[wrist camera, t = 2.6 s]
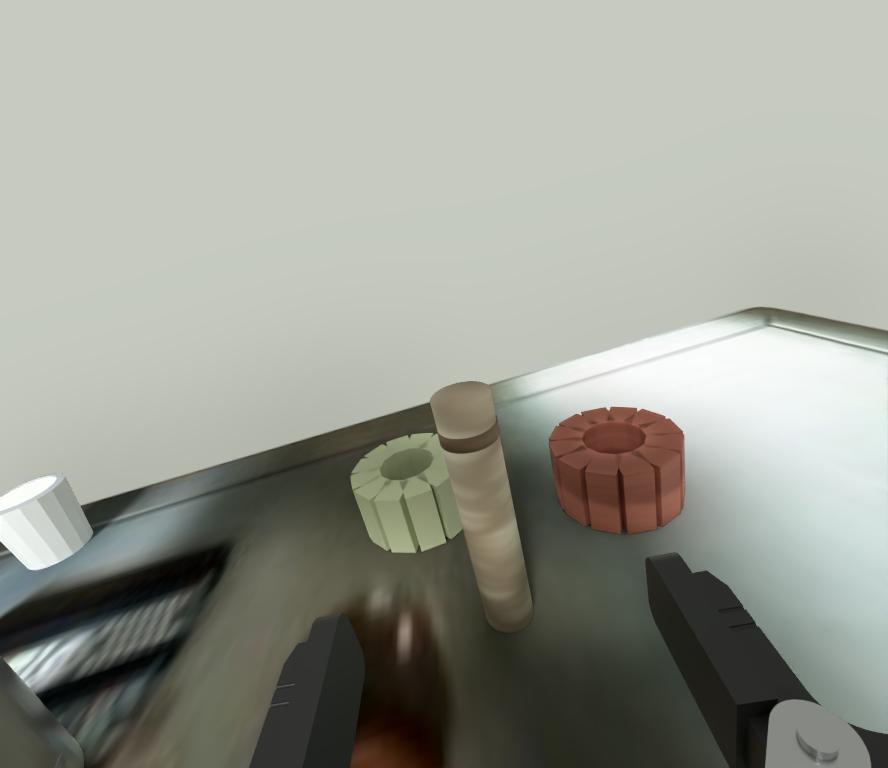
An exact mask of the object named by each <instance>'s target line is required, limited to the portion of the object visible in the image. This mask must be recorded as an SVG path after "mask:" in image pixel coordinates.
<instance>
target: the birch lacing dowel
mask: <svg viewBox="0 0 888 768" xmlns="http://www.w3.org/2000/svg"><path fill="white" fill-rule="evenodd" d="M430 403H431V407H432V411H433V415H434V419H435V423H436V426H437V428H436V430H437V434H438V438H439V442H440V445H441V447H442V450H443V454H444V457H445V461H446V465H447V469H448V473H449V477H450V481H451V484H452V488H453V492H454V496H455V500H456V504H457V508H458V512H459V515H460V519H461V523H462V527H463V531H464V535H465V539H466V542H467V546H468V550H469V554H470V558H471V562H472V566H473V570H474V573H475V577H476V581H477V585H478V589H479V593H480V597H481V600H482V604H483V608H484V612H485V616H486V619H487V621H488V623H489V624H490V626H491V627H493V628H494V629H496V630H497V631H500V632H504V633H513V632H517V631H520V630H522V629H523V628H525V627H526V626H527V625H528V624H529V623H530V621H531V620H532V618H533V614H534V608H533V603H532V597H531V592H530V587H529V582H528V577H527V572H526V567H525V562H524V557H523V552H522V547H521V542H520V537H519V532H518V527H517V522H516V516H515V511H514V506H513V501H512V496H511V491H510V486H509V481H508V476H507V471H506V466H505V461H504V456H503V451H502V446H501V441H500V436H499V435H500V430H499V425H498V420H497V416H496V414H495V410H494V405H493V400H492V395H491V390H490V387H489V386H488V385H487V384H485V383H482V382H476V381H475V382H474V381H468V382H460V383H456V384H452V385H449V386H447V387H444V388H443V389H440V390H439V391H438V392H436V393H435V394H434V395H433V396H432V397H431V399H430Z"/></svg>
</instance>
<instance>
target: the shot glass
mask: <svg viewBox="0 0 888 768" xmlns="http://www.w3.org/2000/svg"><path fill="white" fill-rule="evenodd" d="M92 535H93V531H92V529H91V527H90V525H89V523H88V521H87V519H86V517H85V515H84V513H83V511H82V509H81V507H80V505H79V503H78V501H77V499H76V497H75V495H74V493H73V491H72V489H71V487H70V485H69V483H68V481H67V479H66V477H65V475H63V473H54V474H50V475H45V476H41V477H39V478H36V479H33V480H30V481H28V482H25V483H23V484H21V485H19V486H17V487H14V488H12V489H10V490H8V491H7V492H5V493H3V494H1V495H0V541H1V542H2V543H3V544H4V545H5V546H6V547H7V548H8V549H9V550H10V551H11V552H12V553H13V554H14V555H15V556H16V557H17V558H18V559H19V560H20V561H21V562H22V563H23V564H24V565H25V566H26V567H27V568H28V569H30V570H38V569H42V568H47V567H49V566H51V565H54V564H56V563H58V562H61V561H62V560H64V559H66V558H67V557H69V556H71V555H73V554H74V553H75V552H77V551H78V550H79V549H81V548H82V547H83V546H85V544H86V543H87V542H88V541H89V540H90V539H91V538H92Z"/></svg>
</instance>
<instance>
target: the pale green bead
mask: <svg viewBox="0 0 888 768" xmlns="http://www.w3.org/2000/svg"><path fill="white" fill-rule="evenodd" d="M386 443H387V446H385V445H380V446H379V447H377V448H376V449H374V450H373V451H371V452H369V453H368V454H366V455H365V459H361V460H360V461H359V463H358V464H357V465H356V467H355V468H354V470H353V471H352V476H350V477H351V484H352V490H353V492H354V495H355V498H356V501H357V503H358V506H359V509H360V512H361V514H362V517H363V520H364V522H365V525H366V528H367V531H368V533H369V536H370V538H371V539H372V541H373V542H374V543H376V544H377V545H379V546H380V547H382V548H383V549H385V550H386V551H388V550H389V549H391V551H392V552H397V553H416V552H417V549H418V546H419V545H420V548H421V551H422V552H423V551H425V550H428V549H431V548H433V547H436V546H438V545H441V544H444V543H446V539H445V536H446V537H448V538H450V539H452V538H453V537H455V536H456V535H457V534H458V533H459V532H460V531H461V530H462V529H463V527H462V523H461V519H460V515H459V512H458V508H457V504H456V500H455V496H454V492H453V488H452V484H451V481H450V477H449V473H448V469H447V465H446V461H445V457H444V454H443V450H442V447H441V445H440V442H439V438H438V434H435V435H433V433H423V434H412V436H411V437H410V439H409V438H408V435H407V436H404V437H401V438H398V439H395V440H392V441H389V442H386Z"/></svg>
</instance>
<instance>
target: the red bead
mask: <svg viewBox="0 0 888 768" xmlns="http://www.w3.org/2000/svg"><path fill="white" fill-rule="evenodd" d="M581 413H582V416H581V415H579V414H575V415H573V416H572V417H570V418H568V419H566V420H564V421H563V422H561V423H559V426H556V427H555V429H554V431H553V433H552V434H551V436H550V438H549V448H550V454H551V461H552V468H553V474H554V481H555V488H556V494H557V497H558V499H559V502H560V504H561V507H562V509H563V510H565V511H566V514H567V515H569V516H570V517H572V518H573V519H575V520H576V521H578V522H579V523H581V524H582V525H584V526H585V527H586V526H588V525H589V524H590V523H591V529H595V530H600V531H606V532H611V533H617V534H621V532H622V528H623V527H624V528H625V530H626V532H627V534H633V533H638V532H644V531H650V530H655V529H657V524H658V525H660V526H662V527H663V526H664V525H666V524H667V523H668V522H670V521H671V520H672V519H673V518H675V517H676V516H677V515H679V514H680V513H681V509H683V505H684V495H685V461H684V435H683V431H682V430H681V429H680V428H679V427H678V426H677V425H676V424H675V423H673V422H672V421H671V420H670V419H665V416H663V415H660V414H657V413H654V412H651V411H647V410H644V409H641V410H640V411H638V412H637V408H626V407H611V408H610V410H609V411H608V410H607V409H606V408H605V407H604V408H599V409H594V410H589V411H584V412H581Z"/></svg>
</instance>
